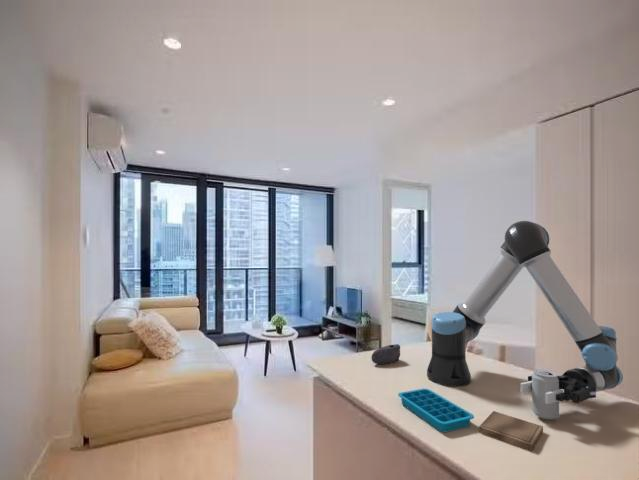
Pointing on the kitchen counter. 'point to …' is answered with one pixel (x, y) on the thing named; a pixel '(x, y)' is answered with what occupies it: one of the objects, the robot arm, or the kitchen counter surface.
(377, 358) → the perforated stone tool
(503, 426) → the walnut block
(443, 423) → the ice cube tray
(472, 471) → the kitchen counter surface
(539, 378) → the beverage can
